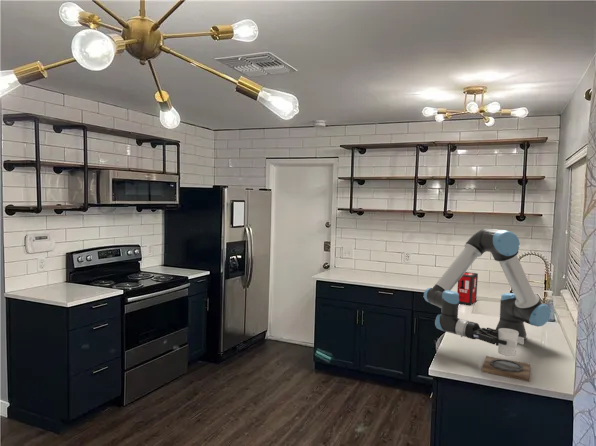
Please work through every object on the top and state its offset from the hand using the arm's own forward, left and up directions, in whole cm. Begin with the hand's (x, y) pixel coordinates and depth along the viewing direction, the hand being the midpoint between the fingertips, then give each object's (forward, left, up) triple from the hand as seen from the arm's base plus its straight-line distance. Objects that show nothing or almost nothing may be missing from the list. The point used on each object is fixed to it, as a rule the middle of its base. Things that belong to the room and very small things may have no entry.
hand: (519, 343), depth 188 cm
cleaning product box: (-86, -91, -13) cm, 126 cm away
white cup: (+1, -5, -6) cm, 8 cm away
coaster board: (+1, -5, -13) cm, 14 cm away
